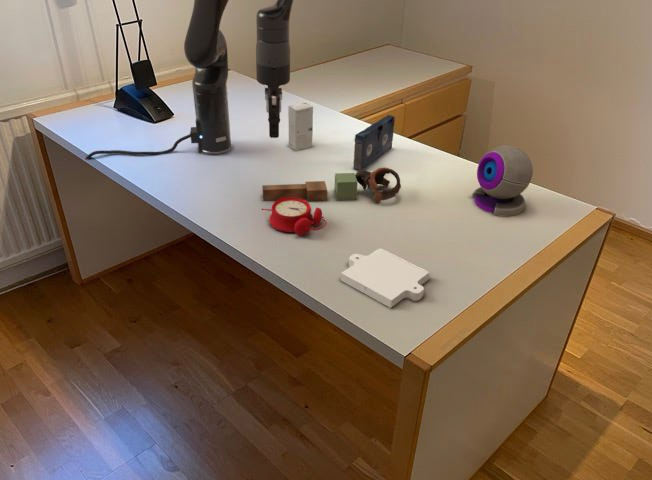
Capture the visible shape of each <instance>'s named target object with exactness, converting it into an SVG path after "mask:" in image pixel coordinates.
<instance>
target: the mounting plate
mask: <svg viewBox="0 0 652 480" xmlns="http://www.w3.org/2000/svg"><path fill="white" fill-rule="evenodd" d="M348 260H349V261H348V266H349V267H348V268H346V269H345V270H343V271H341V272H340V281H341V282H343V283H345V284H346V285H348V286H350V287H351V288H354V289H356V290H357V291H359V292H361V293H363V294H365V295H366V296H368V297H370V298H372V299H374V300H375V301H377V302H379V303H381V304H383V305H385V307H387V308H389V309H392V307H394V306H395V305H396V304H398V303H399V302H400V301H402V300H404V299H409V300H411V301H413V302H417V301H420V300H421V299H422V298H423V296H424V290H425V288H424V286H423V285H424V284H425V283H426V282H427V281H429V279H430V271H428V270H426V269H424V268H422V267H420V266H417V265H415V264H413V263H412V262H410V261H408V260H405V259H403V258H402V257H400V256H397V255H395V254H393V253H391V252H389V251H387V250H385V249H383V248H381V247H380V248H378V249H376V250H375V251H373V252H372V253H369V254H368V255H362V254H360V253H354V254H351V255H350V256H349V258H348Z"/></svg>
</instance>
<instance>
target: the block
mask: <svg viewBox="0 0 652 480" xmlns="http://www.w3.org/2000/svg"><path fill="white" fill-rule="evenodd" d="M355 174H356V173H355V172H339V173H337V172H336V173H334V187H333V190H334V191H333V192H334V195H335V199H336V201H353V200H357V197H358V182H357V179H356V176H355Z"/></svg>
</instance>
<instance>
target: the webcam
mask: <svg viewBox="0 0 652 480" xmlns="http://www.w3.org/2000/svg"><path fill="white" fill-rule="evenodd" d="M533 169H534V167H533V163H532V161H531V159H530V157H529V155H528V154H527V153H526V152H525V151H524V150H523V149H521V148H519V147H517V146H514V145H508V144H507V145H498V146H496V147H493V148H491V149H490V150H488V151H487V152H486V153H485V154H484V155H483V157H482V158H481V159H480V160H479V163H478V165H477V170H476V179H477V182H478V184H479V187H478V188H476V189H475V190H474V191H473V192H472V193H471V194H472V195H471V199H474V203H475V205H476V206H477V207H478V208H479V209H481V210H483V211H485V212H489V213H492V214H493V215H494V216H499V217H507V216H509V217H510V216H514V215H518V214H520V213H521V212H522V211H523V210H524V209H525V204H526V201H525V198H524V196H523V195H522V193H523V192H525V190H527V188H528V187H529V186H530V184H531V182H532V179H533V171H534V170H533Z"/></svg>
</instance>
